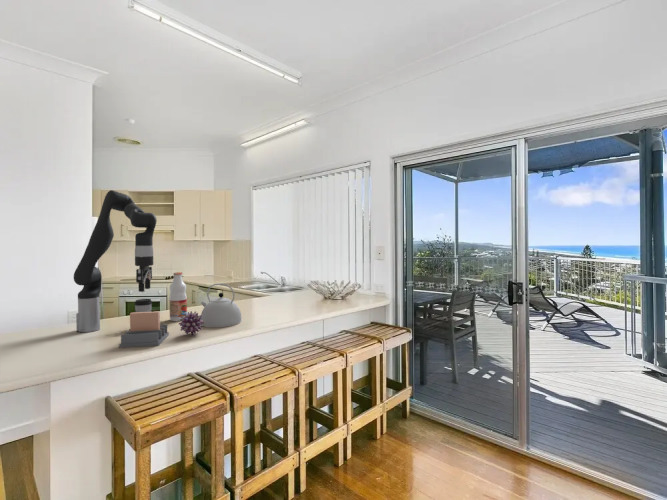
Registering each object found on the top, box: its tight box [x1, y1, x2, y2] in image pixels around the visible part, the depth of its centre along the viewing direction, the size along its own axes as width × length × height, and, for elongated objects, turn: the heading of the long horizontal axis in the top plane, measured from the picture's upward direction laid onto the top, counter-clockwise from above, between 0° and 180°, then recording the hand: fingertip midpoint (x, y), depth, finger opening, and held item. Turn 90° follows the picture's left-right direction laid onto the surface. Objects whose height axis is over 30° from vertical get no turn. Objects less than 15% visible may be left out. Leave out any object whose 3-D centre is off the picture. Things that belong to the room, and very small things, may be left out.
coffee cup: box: [134, 298, 153, 312], centre depth 183 cm, size 8×8×15 cm
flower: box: [178, 310, 204, 336], centre depth 170 cm, size 12×12×12 cm
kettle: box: [200, 283, 242, 328], centre depth 196 cm, size 25×23×22 cm
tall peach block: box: [129, 310, 161, 331], centre depth 159 cm, size 12×2×12 cm, turn 102°
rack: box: [118, 324, 170, 349], centre depth 159 cm, size 16×17×6 cm
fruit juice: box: [169, 271, 188, 322], centre depth 202 cm, size 9×9×28 cm
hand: (144, 290), depth 158 cm, fingers open, 8 cm apart
